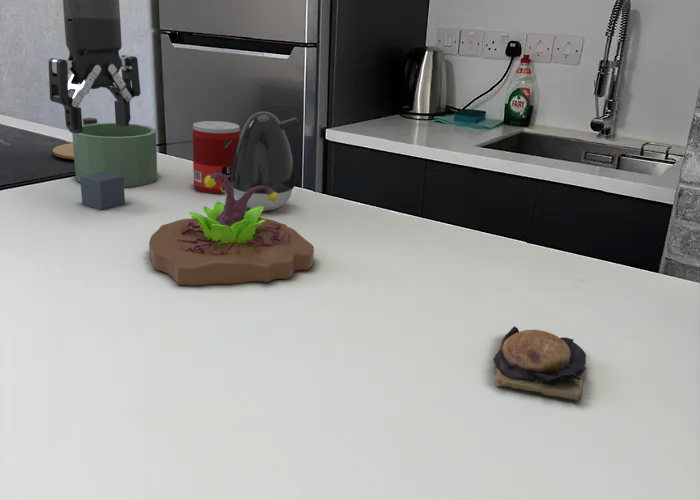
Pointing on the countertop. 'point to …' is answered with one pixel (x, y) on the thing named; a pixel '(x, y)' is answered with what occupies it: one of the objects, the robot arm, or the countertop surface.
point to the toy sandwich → (540, 363)
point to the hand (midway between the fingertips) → (99, 129)
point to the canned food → (213, 152)
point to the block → (102, 190)
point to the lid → (67, 149)
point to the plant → (229, 243)
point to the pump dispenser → (264, 161)
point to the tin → (117, 152)
